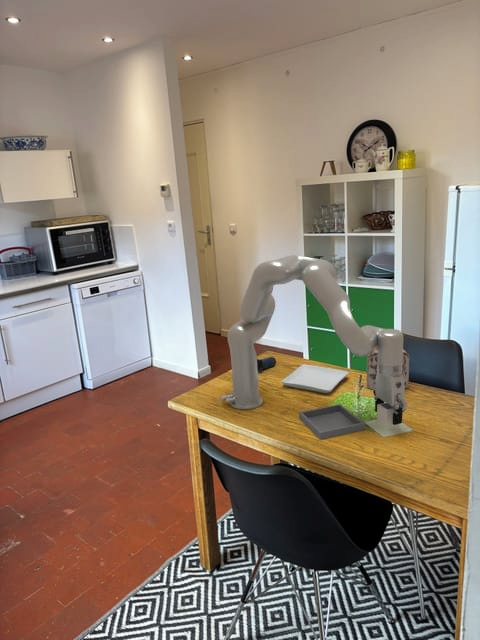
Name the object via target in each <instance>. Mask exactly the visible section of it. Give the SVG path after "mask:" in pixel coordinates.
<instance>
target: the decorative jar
mask: <svg viewBox="0 0 480 640" xmlns="http://www.w3.org/2000/svg"><path fill="white" fill-rule="evenodd" d="M377 364H378V349H377V348H375V349H373V351H372V352H371V353H370V354H368V355H366V388H367V389H368V390H369V389H370V390H372V391H374V390H373V387H372V385H373V384H376V375H377ZM409 374H410V354H408V352H407V351H406V350H405V349H404V348H403V360H402V375H403V378H404V386H405V389H407V388H408V387H409V377H410V375H409Z"/></svg>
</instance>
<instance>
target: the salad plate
mask: <svg viewBox="0 0 480 640" xmlns="http://www.w3.org/2000/svg"><path fill="white" fill-rule="evenodd" d="M349 373H350V372H349V371H348V370H341V369H336V368H329V367H325V366H318V365H314V364H313V365H311V364H305V363H303V364H301V365H300V366H299V367H298V368H296V369H295V370H294V371H292V373H290V374H288V375H287V376H286V377H285V378H284V379H282V380H281V383H282V384H283V385H284V386H287V387H291V388H296V389H302V390H306V391H311V392H312V391H313V392H317V393H325V394H328V393H330V392H332V391H333V390H334V388H335V387H336V386H338V384H339V383H340V382H341V381H342V380H344V379H345V378H346V377H347V376H348V375H349Z"/></svg>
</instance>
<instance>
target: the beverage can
mask: <svg viewBox="0 0 480 640" xmlns="http://www.w3.org/2000/svg"><path fill="white" fill-rule="evenodd" d="M276 364H277V360H276V358H275V357H274V356H268V357H265V358H261V359H258V358H257V370H258V374H260V375H262V374H263V370H265V369H268V368H271V367H274V366H275V365H276Z"/></svg>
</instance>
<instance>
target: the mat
mask: <svg viewBox="0 0 480 640" xmlns="http://www.w3.org/2000/svg"><path fill="white" fill-rule="evenodd" d="M363 422H364V423H365V425H367V426H368V427H369V428H371V429H372V430H373V431H374V432H375V433H377V434H378V435H379V436H380V437H382V438H388V437H392V436H396V435H400V434H404V433H414V430H413V429H412V428H411V427H409V426H408V425H406V424H405V423H403V422H402V423H401V424H399V428H396V429H391V430H387V431H385V430H384V429H383V428H381V427H380V426H379V425H377V418H376V419H372V420H371V419H370V420H367V421H363Z"/></svg>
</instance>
